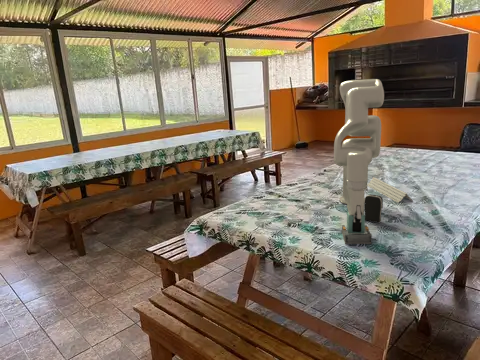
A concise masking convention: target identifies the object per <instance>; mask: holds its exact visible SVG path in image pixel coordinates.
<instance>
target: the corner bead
mask: <svg viewBox="0 0 480 360" xmlns="http://www.w3.org/2000/svg"><path fill="white" fill-rule="evenodd" d="M367 187H369V188H370V189H372V190H374V191H377V192H378V193H379V194H382V195H384V196H385V197H387V198H389V199H390V200H393V201H394V202H396V203H399V202H401V201H402V200H403V199H404V198H406V199H408V200H409V201H411V202H414V200H413V199H412V198H411V197H410V196H409V195H408V193H407V192H404V191H403V190H400V189H398V188H396V187H394V186H392V185H391V184H388V183H387V182H385V181H382V180H381V179H378V178H376V177H372V179H371V180H370V181H369V182H367ZM399 204H400V203H399Z"/></svg>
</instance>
